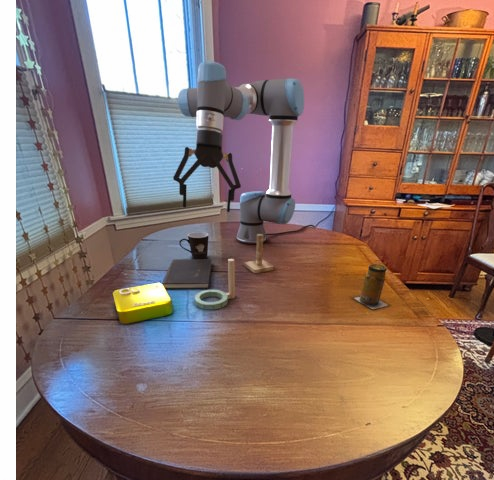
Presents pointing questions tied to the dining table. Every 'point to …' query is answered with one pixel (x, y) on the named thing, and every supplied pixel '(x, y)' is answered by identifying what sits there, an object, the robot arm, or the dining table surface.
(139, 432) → the dining table surface
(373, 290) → the condiment
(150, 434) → the dining table surface
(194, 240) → the coffee mug
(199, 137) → the robot arm
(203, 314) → the dining table surface
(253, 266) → the post
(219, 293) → the hoop
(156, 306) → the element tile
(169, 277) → the hardcover book
